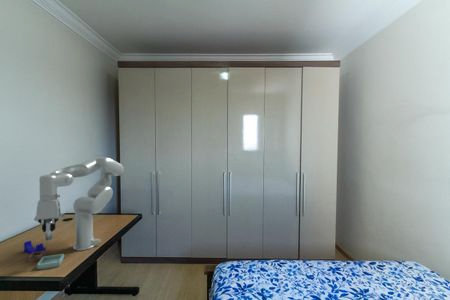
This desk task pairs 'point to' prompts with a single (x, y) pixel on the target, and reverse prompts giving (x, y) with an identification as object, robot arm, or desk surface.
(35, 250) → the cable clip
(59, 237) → the desk surface
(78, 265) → the desk surface
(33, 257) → the socket
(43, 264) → the tray
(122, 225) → the desk surface
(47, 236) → the flashlight
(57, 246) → the desk surface
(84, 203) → the robot arm
